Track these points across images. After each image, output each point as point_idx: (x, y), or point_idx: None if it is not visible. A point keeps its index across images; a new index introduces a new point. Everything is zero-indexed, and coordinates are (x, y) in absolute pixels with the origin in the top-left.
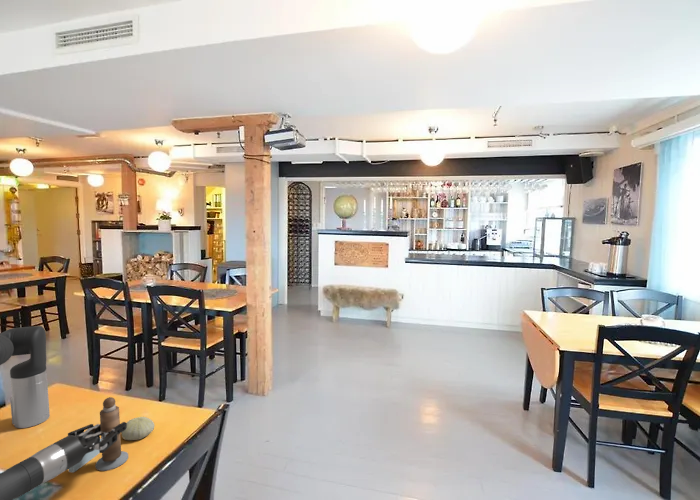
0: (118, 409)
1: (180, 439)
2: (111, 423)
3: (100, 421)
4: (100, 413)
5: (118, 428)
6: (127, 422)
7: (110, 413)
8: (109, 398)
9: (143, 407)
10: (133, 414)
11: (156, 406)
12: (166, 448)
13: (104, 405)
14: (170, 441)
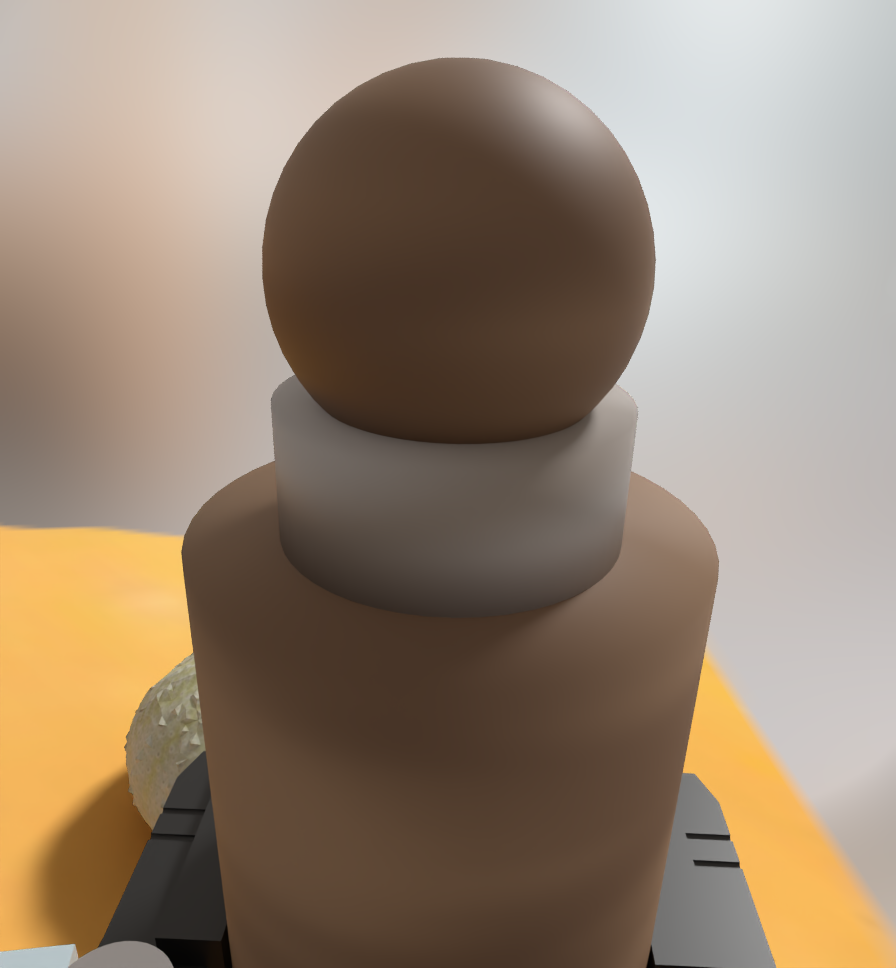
0: (639, 480)
1: (767, 748)
2: (662, 875)
3: (318, 918)
4: (333, 666)
5: (737, 918)
6: (175, 703)
7: (689, 601)
8: (519, 67)
9: (75, 562)
10: (41, 622)
11: (177, 542)
12: (806, 875)
13: (481, 314)
14: (717, 789)
